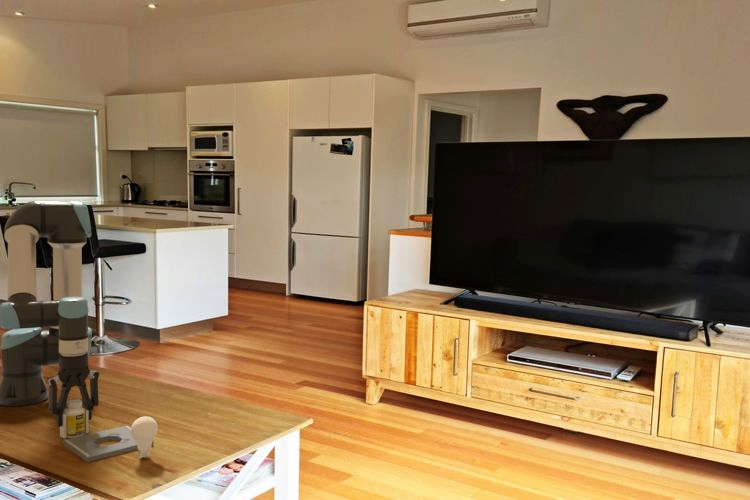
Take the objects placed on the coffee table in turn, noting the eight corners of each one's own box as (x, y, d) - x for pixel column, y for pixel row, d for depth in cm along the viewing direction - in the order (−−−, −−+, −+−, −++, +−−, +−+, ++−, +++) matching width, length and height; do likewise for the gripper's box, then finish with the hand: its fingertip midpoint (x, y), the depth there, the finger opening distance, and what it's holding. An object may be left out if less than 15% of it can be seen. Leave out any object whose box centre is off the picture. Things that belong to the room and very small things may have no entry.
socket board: (63, 444, 185) (62, 439, 184) (127, 429, 197) (127, 425, 197) (87, 462, 173) (87, 457, 173) (153, 445, 186) (153, 440, 186)
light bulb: (134, 453, 180) (134, 412, 179) (160, 453, 180) (160, 412, 179) (127, 463, 173) (127, 421, 172) (154, 463, 174) (154, 421, 173)
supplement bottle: (77, 439, 188) (76, 405, 188) (59, 437, 189) (59, 403, 189) (89, 432, 194) (88, 399, 193) (72, 431, 195) (71, 397, 194)
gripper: (43, 360, 180) (44, 445, 182) (112, 350, 193) (112, 430, 195) (33, 355, 186) (35, 438, 188) (100, 346, 199) (101, 423, 201)
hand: (74, 434), depth 192 cm, fingers closed on supplement bottle, 5 cm apart
